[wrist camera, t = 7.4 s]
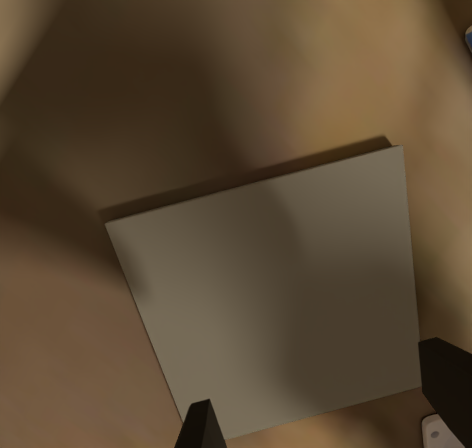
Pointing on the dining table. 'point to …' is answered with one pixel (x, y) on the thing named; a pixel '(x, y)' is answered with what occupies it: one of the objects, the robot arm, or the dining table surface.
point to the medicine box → (469, 37)
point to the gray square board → (281, 292)
